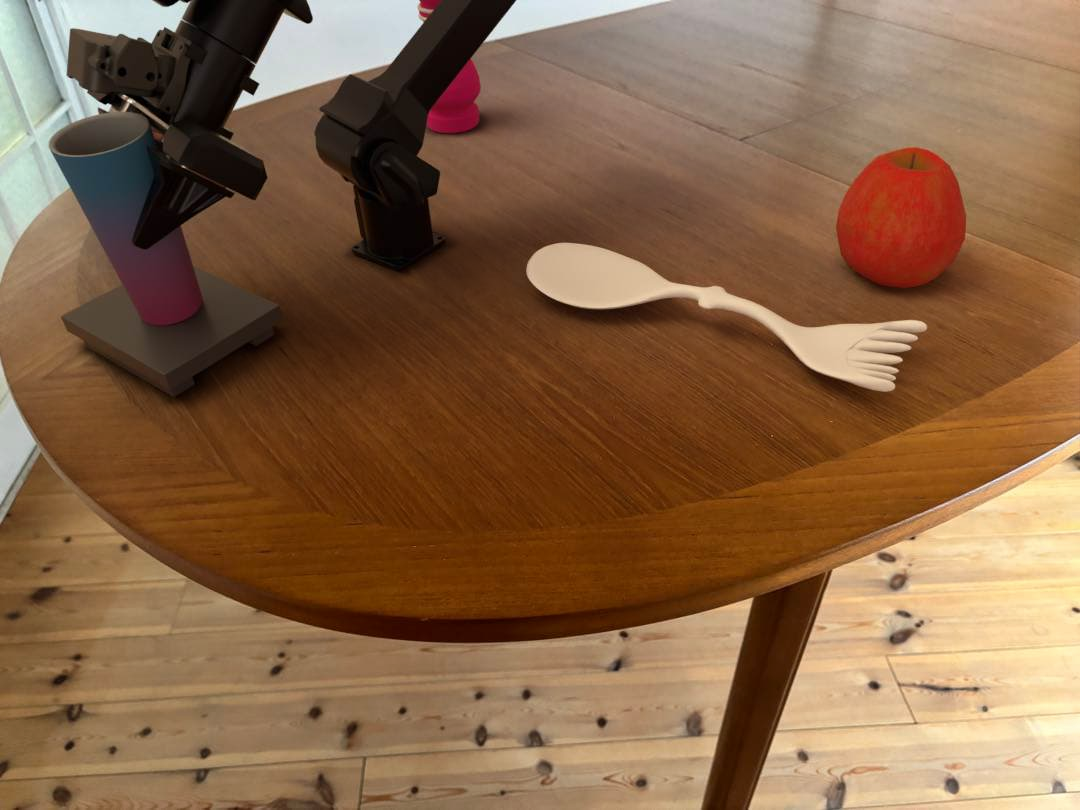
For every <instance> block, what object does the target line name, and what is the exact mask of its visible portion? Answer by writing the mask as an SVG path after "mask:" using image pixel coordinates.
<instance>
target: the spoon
mask: <svg viewBox="0 0 1080 810" xmlns="http://www.w3.org/2000/svg"><path fill="white" fill-rule="evenodd" d="M525 272H526V276H527V278H528V280H529V281H530V282H531V284H532V285H533V286H534V287H535V288H536V289H537V290H539V291H540V292H541V293H542V294H543V295H546V297H549V298H551V299H552V300H555V301H557V302H559V303H562V304H565V305H568V306H571V307H576V308H581V309H587V310H613V309H621V308H625V307H627V308H628V307H633V306H636V305H641V304H647V303H650V302H654V301H657V300H658V301H659V300H664V299H670V298H671V299H672V298H683V299H690V300H694V301H696V302H698V303H697V304H698V306H699V308H701V309H704V310H714V309H716V310H717V309H718V310H725V311H729V312H732V313H733V312H734V313H736V314H741V315H742V316H743V315H744V316H745V317H749V318H751V319H753V320H754V321H757V322H758V323H759V324H761V325H763V326H764V327H765V328H767V329H768V330H769V331H771V332H772V333H774V335H776V336H777V337H778V338H779V339H780V340H781V341H782V342H783V343H784V345H786V347H787V348H788V349H790V351H791V352H792V353H793V355H795V357H796V358H797V359H798V360H799V361H800V362H801V363H802V364H803V365H805V366H806V367H807V368H809V369H810V370H812V371H814V372H816V373H819V374H820V375H824V376H827V377H830V378H833V379H837V380H840V381H845V382H847V383H850V384H853V385H855V386H858V387H861V388H864V389H868V390H872V391H876V392H885V393H888V392H892V391H894V390H895V388H896V384H895V383H894V381H895V380H897V378H896V376H895V374H898V373H899V372H900V370H899V369H898V368H896V367H893V366H892V365H896V364H900V363H902V362H903V361H904V360H903V358H902V357H901V356H898V355H894V353H895V354H896V353H902V352H908V351H910V350H911V349H912V346H910V345H909V344H907V343H911V342H916V341H917V340H918V339H919V338H918V336H917V335H915V334H916V333H917V334H918V333H924V332H926V331H927V329H928V325H927V324H926V323H925V322H924V321H921V320H916V319H906V320H905V319H904V320H891V321H885V322H875V323H840V324H839V323H837V324H830V325H824V326H816V327H815V326H814V327H813V326H812V327H810V326H809V327H808V326H802V325H798V324H795V323H793V322H791V321H788V320H787V319H785V318H784V317H781V316H780V315H779V314H777V313H775V312H773V311H772V310H771V309H768V308H767V307H765V306H763V305H761V304H759V303H757V302H753V301H752V300H749V299H745V298H742V297H739V296H736V295H733V294H731V293H729V292H727V291H726V290H725V288H724V287H722V286H718V285H712V286H707V287H703V286H695V285H689V284H684V283H683V284H682V283H678V282H672V281H669V280H668V279H666V278H664V276H661V275H660V274H658V273H657V272H656V271H655V270H653V269H652V268H650V267H649V266H648V265H646V264H644V263H642V262H641V261H638V260H636V259H633V258H631V257H628V256H626V255H623V254H620V253H618V252H616V251H613V250H609V249H607V248H603V247H599V246H596V245H590V244H586V243H585V244H584V243H577V242H576V243H574V242H557V243H553V244H549V245H545V246H543V247H542V248H540V249H538V250H537V251H535V252H534V253H533V254H532V255H531V257H530V258H529V260H528V261H527V263H526V271H525Z"/></svg>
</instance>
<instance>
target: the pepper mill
mask: <svg viewBox="0 0 1080 810" xmlns="http://www.w3.org/2000/svg"><path fill="white" fill-rule="evenodd" d="M418 1H419V3H418V4H417V10H418V19H420V21H422V22H423V23H424V21H425V20H426V19H427V18H428V16H429V15H430V14H431V13H432V11H433V10H434V9H435V8H436V6H437V5H438V4H439V2H440V1H441V0H418ZM423 23H422V24H423ZM481 88H482V85H481V80H480V75H479V73H478V70H477V67H476V65H475V63H474V61H473V59H472V58H471V59H470V60H469V61H468V63H467V64H466V65H465V66H464V68H463V69H462V70H461V72H460V73H459V74H458V75H457V77H456V78H455V79H454V80H453V82H452V83H451V84H450V86H449V87H448V88H447V89H446V91H445V92H444V93H443V94H442V96H441V97H440V98H439V100H438V101H437V102H436V103H435V105H434V106H433V107H432V109H431V110H430V112H429V114H428V119H427V124H426V127H427V128H428V129H429V130H431V131H433V132H436V133H440V134H458V133H459V134H460V133H463V132H467V131H469V130H472V129H474V128H476V127H477V126H478V125H479V123H480V110H479V105H478V104H477V103H476V102H475V101H476V100H477V99H478V97H479V96H480V93H481V90H482V89H481Z"/></svg>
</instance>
